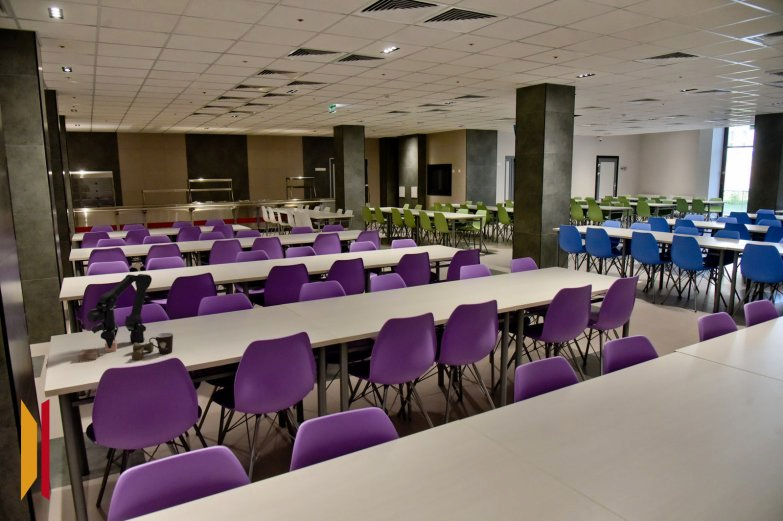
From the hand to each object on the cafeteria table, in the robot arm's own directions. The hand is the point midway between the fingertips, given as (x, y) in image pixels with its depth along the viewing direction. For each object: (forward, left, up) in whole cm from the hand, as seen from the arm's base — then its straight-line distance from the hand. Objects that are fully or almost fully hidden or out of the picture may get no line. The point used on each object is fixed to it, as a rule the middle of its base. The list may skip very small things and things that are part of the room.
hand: (111, 345), depth 287 cm
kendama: (-16, +13, -3) cm, 21 cm away
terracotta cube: (0, 0, -3) cm, 3 cm away
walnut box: (+9, +10, -3) cm, 14 cm away
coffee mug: (-27, +14, -3) cm, 31 cm away
